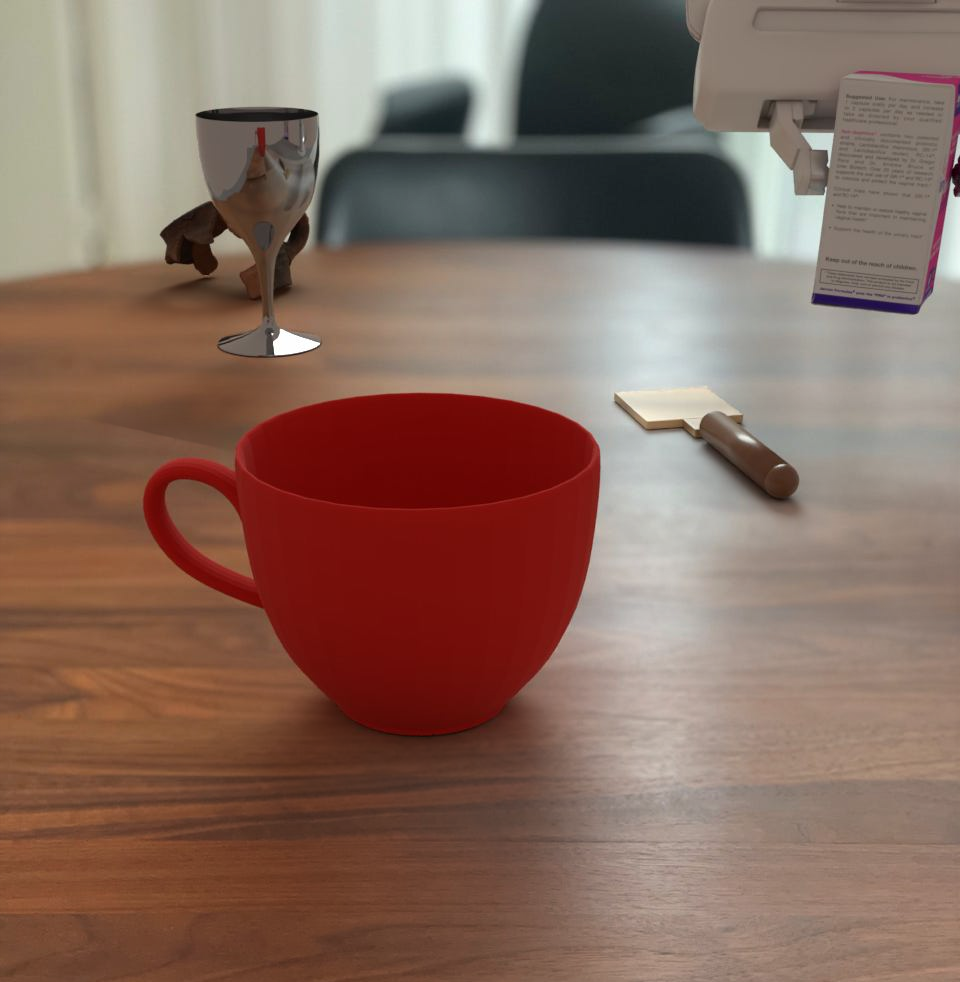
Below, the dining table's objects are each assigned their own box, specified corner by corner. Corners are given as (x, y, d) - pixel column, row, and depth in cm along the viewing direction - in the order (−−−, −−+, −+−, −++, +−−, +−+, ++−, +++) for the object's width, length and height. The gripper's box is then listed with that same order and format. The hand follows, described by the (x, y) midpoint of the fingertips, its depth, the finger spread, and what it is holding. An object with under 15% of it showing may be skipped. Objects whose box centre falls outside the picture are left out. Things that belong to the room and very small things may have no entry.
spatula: (613, 400, 92) (614, 371, 91) (705, 393, 93) (707, 365, 92) (731, 508, 75) (734, 474, 75) (841, 498, 77) (845, 465, 76)
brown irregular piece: (227, 314, 112) (171, 213, 111) (186, 344, 121) (133, 250, 119) (351, 252, 118) (299, 155, 116) (303, 284, 126) (254, 194, 124)
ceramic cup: (216, 604, 65) (198, 378, 60) (607, 634, 62) (617, 401, 58) (97, 754, 53) (63, 488, 49) (570, 799, 51) (580, 523, 46)
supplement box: (922, 317, 78) (955, 82, 73) (808, 305, 80) (832, 76, 75) (938, 294, 82) (970, 72, 77) (830, 283, 84) (854, 66, 79)
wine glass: (279, 364, 99) (266, 125, 92) (187, 346, 102) (168, 115, 96) (350, 338, 105) (343, 112, 98) (261, 322, 108) (248, 103, 102)
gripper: (692, -70, 79) (702, 149, 75) (1078, -66, 79) (1111, 153, 75) (677, 16, 85) (685, 223, 81) (1035, 19, 85) (1064, 227, 81)
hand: (893, 190), depth 78 cm, fingers closed on supplement box, 7 cm apart
